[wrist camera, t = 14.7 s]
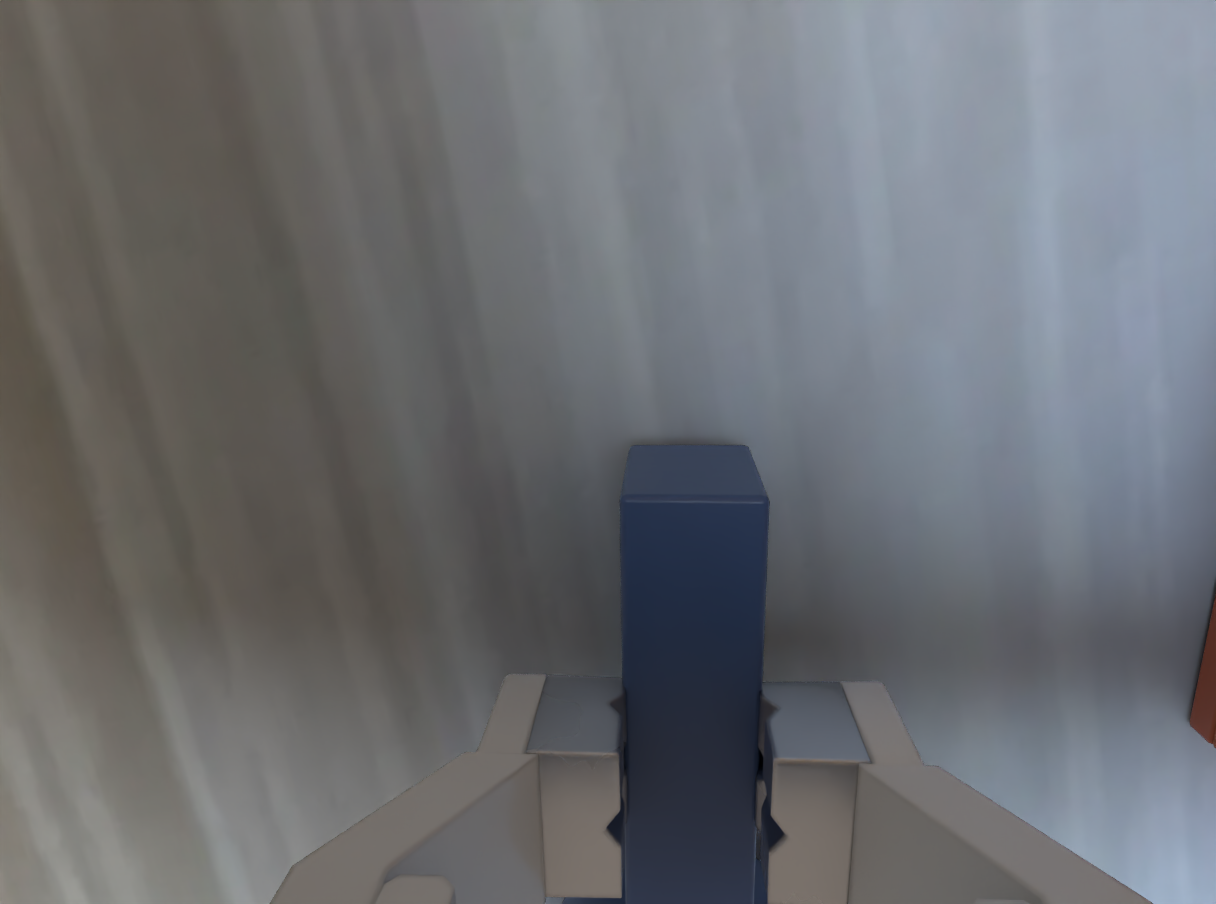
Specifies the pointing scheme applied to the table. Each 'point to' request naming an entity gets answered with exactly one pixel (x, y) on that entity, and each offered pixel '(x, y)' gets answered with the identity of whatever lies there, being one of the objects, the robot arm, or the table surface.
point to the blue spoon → (691, 673)
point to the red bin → (1207, 688)
